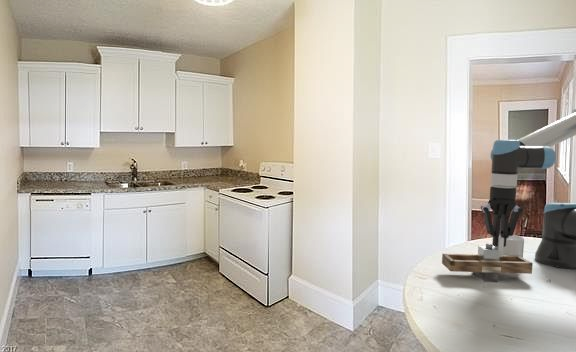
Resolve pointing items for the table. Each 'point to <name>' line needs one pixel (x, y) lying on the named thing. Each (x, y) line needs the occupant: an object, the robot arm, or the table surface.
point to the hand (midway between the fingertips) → (498, 255)
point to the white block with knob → (488, 253)
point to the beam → (486, 265)
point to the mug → (514, 246)
